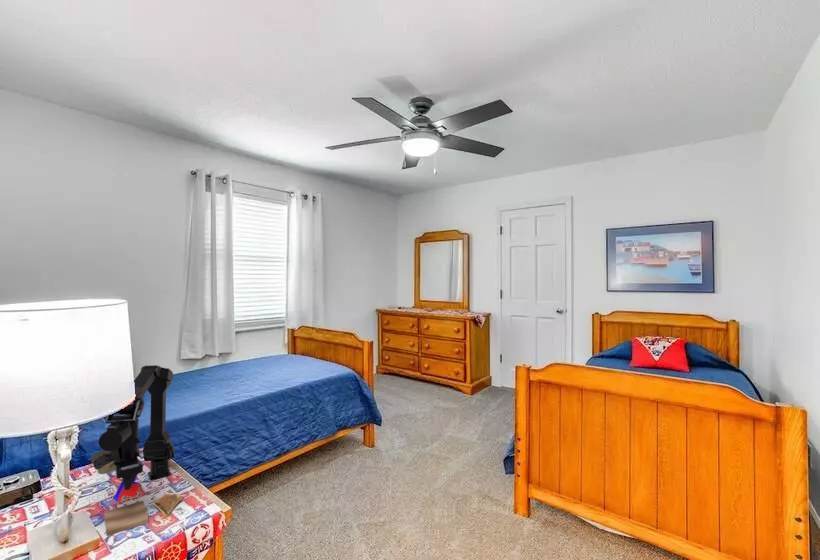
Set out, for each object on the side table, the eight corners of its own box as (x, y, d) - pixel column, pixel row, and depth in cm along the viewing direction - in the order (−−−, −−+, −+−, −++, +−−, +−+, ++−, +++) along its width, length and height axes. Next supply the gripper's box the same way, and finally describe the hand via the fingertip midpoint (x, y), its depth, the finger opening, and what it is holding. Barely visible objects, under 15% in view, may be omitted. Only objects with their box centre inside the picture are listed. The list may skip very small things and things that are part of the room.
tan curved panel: (104, 515, 122) (104, 511, 122) (143, 503, 129) (143, 500, 129) (106, 536, 113) (106, 531, 113) (148, 522, 119) (148, 518, 119)
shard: (166, 519, 122) (166, 513, 122) (140, 519, 121) (141, 514, 121) (184, 499, 133) (184, 493, 133) (160, 499, 132) (160, 494, 132)
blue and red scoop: (131, 503, 120) (145, 474, 123) (116, 501, 117) (131, 472, 120) (127, 500, 122) (141, 472, 125) (112, 499, 119) (127, 470, 123)
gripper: (91, 432, 122) (91, 482, 123) (94, 455, 108) (94, 511, 108) (135, 424, 129) (135, 471, 130) (143, 444, 115) (142, 497, 116)
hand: (126, 486), depth 121 cm, fingers closed on blue and red scoop, 3 cm apart
